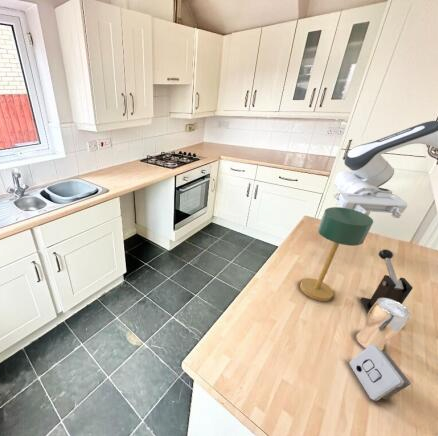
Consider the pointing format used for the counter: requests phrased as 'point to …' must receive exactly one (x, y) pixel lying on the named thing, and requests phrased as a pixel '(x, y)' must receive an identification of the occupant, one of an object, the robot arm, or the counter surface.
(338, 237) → the desk lamp
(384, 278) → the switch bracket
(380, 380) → the electrical switch
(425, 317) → the counter surface
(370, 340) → the beer glass
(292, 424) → the counter surface
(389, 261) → the switch lever
